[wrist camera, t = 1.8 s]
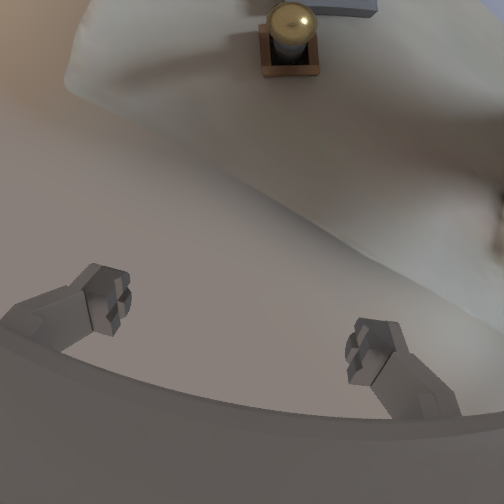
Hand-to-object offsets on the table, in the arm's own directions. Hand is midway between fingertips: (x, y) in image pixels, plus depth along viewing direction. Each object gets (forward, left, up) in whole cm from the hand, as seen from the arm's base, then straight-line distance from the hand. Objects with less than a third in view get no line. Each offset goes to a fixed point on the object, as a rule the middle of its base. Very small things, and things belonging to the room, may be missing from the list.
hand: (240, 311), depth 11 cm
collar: (-3, -13, -29) cm, 32 cm away
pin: (-3, -13, -29) cm, 32 cm away
